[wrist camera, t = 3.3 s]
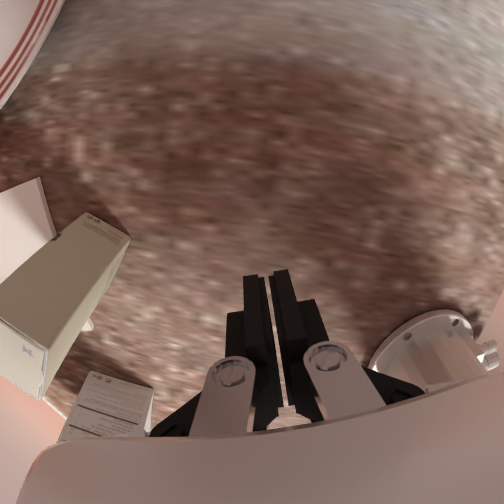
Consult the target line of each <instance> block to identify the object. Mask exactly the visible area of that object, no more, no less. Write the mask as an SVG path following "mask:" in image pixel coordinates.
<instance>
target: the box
mask: <svg viewBox="0 0 504 504" xmlns="http://www.w3.org/2000/svg"><path fill="white" fill-rule="evenodd" d="M130 240H131V238H130V236H128V235H126V234H124V233H123V232H121V231H120V230H118V229H116V228H114V227H113V226H111V225H109V224H107V223H105V222H104V221H102V220H100V219H99V218H97V217H95V216H93V215H91V214H89V213H87V212H86V213H84V214H83V215H81V216H80V217H79V218H77V219H76V220H75V221H73V222H72V223H71V224H70V225H68V226H67V227H66V228H64V229H63V230H62V231H61V232H60V233H58V234H57V235H56V236H55V237H53V238H52V239H51V240H50V241H49V242H47V243H46V244H45V245H44V246H43V247H41V248H40V249H39V250H38V251H37V252H35V253H34V254H33V255H32V256H31V257H30V258H29V259H28V260H26V261H25V262H24V263H23V264H22V265H21V266H20V267H18V268H17V269H16V270H15V271H14V272H13V273H12V274H11V275H10V276H9V277H8V278H6V279H5V280H4V281H3V282H2V283H1V284H0V375H1V376H3V377H4V378H6V379H7V380H8V381H10V382H11V383H13V384H14V385H16V386H17V387H19V388H20V389H21V390H23V391H24V392H26V393H27V394H29V395H30V396H32V397H34V398H35V399H38V400H41V399H42V397H43V395H44V394H45V392H46V390H47V388H48V387H49V385H50V383H51V381H52V379H53V378H54V376H55V374H56V372H57V370H58V369H59V367H60V365H61V363H62V362H63V360H64V358H65V356H66V355H67V353H68V351H69V349H70V348H71V346H72V344H73V343H74V341H75V339H76V338H77V336H78V334H79V333H80V331H81V330H82V328H83V326H84V325H85V323H86V321H87V320H88V318H89V317H90V315H91V313H92V312H93V310H94V309H95V307H96V305H97V304H98V302H99V301H100V299H101V298H102V296H103V295H104V293H105V292H106V290H107V289H108V287H109V286H110V284H111V282H112V280H113V278H114V276H115V274H116V272H117V270H118V268H119V265H120V263H121V261H122V259H123V256H124V254H125V252H126V249H127V247H128V245H129V242H130Z"/></svg>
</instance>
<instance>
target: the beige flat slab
mask: <svg viewBox="0 0 504 504" xmlns="http://www.w3.org/2000/svg"><path fill="white" fill-rule="evenodd" d="M56 235H57V233H56V230H55V227H54V224H53V221H52V218H51V215H50V211H49V208H48V205H47V201H46V198H45V194H44V191H43V187H42V183H41V179H40V177H38V178H35V179H33V180H30V181H28V182H25V183H23V184H20V185H18V186H15V187H13V188H11V189H8V190H6V191H4V192H1V193H0V284H1V283H2V282H3V281H4V280H5V279H6V278H8V277H9V276H10V275H11V274H12V273H13V272H14V271H15V270H16V269H17V268H18V267H20V266H21V265H22V264H23V263H24V262H25V261H26V260H28V259H29V258H30V257H31V256H32V255H33V254H34V253H35V252H37V251H38V250H39V249H40V248H41V247H43V246H44V245H45V244H46V243H47V242H49V241H50V240H51V239H52V238H53V237H55V236H56ZM93 328H94V325H93V323H92V321H91V318H90V317H89V318H88V320H87V321H86V323H85V325H84V326H83V328H82V330H81V331H91V330H93Z"/></svg>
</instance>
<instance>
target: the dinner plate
mask: <svg viewBox="0 0 504 504" xmlns="http://www.w3.org/2000/svg"><path fill="white" fill-rule="evenodd" d="M64 2H65V0H0V109H1V108H2V107H3V105H4V104H5V103H6V101H7V100H8V98H9V97H10V95H11V94H12V93H13V91H14V90H15V88H16V87H17V86H18V84H19V83H20V81H21V79H22V78H23V76H24V75H25V73H26V72H27V70H28V69H29V67H30V65H31V64H32V62H33V60H34V59H35V57H36V55H37V54H38V52H39V50H40V48H41V47H42V45H43V43H44V41H45V39H46V38H47V36H48V34H49V32H50V30H51V28H52V26H53V24H54V22H55V20H56V18H57V16H58V14H59V12H60V10H61V8H62V6H63V4H64Z"/></svg>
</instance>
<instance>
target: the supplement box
mask: <svg viewBox="0 0 504 504" xmlns="http://www.w3.org/2000/svg"><path fill="white" fill-rule="evenodd" d="M153 394H154V390H153V389H151V388H148V387H144V386H141V385H137V384H134V383H130V382H127V381H124V380H120V379H117V378H114V377H111V376H107V375H104V374H101V373H98V372H95V371H90V372H89V374H88V376H87V378H86V380H85V382H84V384H83V386H82V388H81V390H80V392H79V395H78V397H77V399H76V401H75V403H74V405H73V407H72V409H71V412H70V414H69V416H68V418H67V420H66V423H65V425H64V427H63V429H62V432H61V434H60V436H59V438H58V441H57V443H59V442H63V441H67V440H71V439H78V438H86V437H101V436H108V435H115V434H121V433H127V432H133V431H139V430H144V429H145V431H146V432H150V428H151V410H152V400H153ZM57 443H56V444H57Z"/></svg>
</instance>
